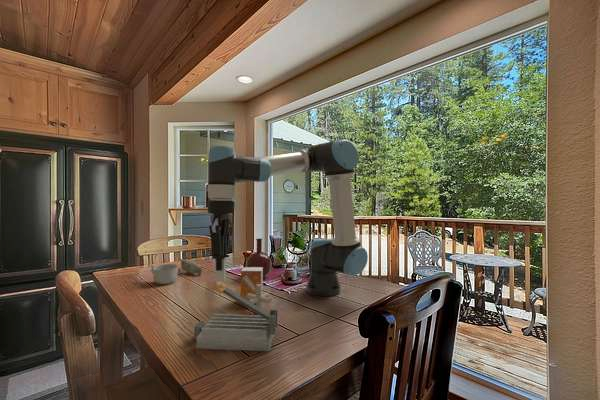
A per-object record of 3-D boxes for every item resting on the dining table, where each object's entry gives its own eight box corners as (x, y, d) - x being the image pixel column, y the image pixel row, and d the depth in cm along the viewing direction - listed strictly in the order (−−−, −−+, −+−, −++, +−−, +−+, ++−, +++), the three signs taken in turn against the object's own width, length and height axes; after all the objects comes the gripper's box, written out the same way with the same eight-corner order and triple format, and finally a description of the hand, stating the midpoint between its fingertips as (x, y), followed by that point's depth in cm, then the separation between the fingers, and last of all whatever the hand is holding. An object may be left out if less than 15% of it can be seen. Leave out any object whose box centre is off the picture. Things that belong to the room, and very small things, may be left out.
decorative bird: (196, 277, 150) (196, 263, 150) (176, 273, 158) (176, 259, 158) (204, 275, 155) (204, 261, 155) (184, 271, 163) (184, 257, 163)
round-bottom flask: (246, 274, 156) (247, 237, 156) (271, 273, 158) (271, 237, 158) (244, 281, 143) (245, 240, 143) (271, 280, 145) (272, 240, 145)
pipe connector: (260, 320, 97) (260, 290, 97) (238, 314, 103) (238, 285, 103) (278, 311, 106) (278, 283, 106) (257, 305, 111) (257, 279, 111)
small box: (240, 304, 112) (240, 270, 112) (242, 298, 118) (243, 266, 118) (261, 304, 112) (261, 270, 112) (262, 298, 119) (262, 266, 119)
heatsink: (278, 331, 90) (278, 305, 90) (273, 351, 78) (273, 321, 78) (204, 328, 91) (205, 303, 91) (188, 348, 79) (188, 318, 79)
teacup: (182, 282, 141) (182, 265, 141) (161, 287, 132) (161, 270, 132) (165, 277, 148) (165, 262, 148) (144, 282, 139) (144, 266, 139)
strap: (274, 319, 86) (277, 315, 86) (272, 326, 81) (274, 322, 81) (217, 283, 87) (219, 280, 87) (211, 289, 82) (214, 284, 82)
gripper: (216, 199, 91) (215, 274, 91) (199, 199, 78) (198, 287, 78) (239, 200, 91) (238, 275, 91) (227, 200, 78) (226, 287, 78)
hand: (220, 280), depth 85 cm, fingers closed
